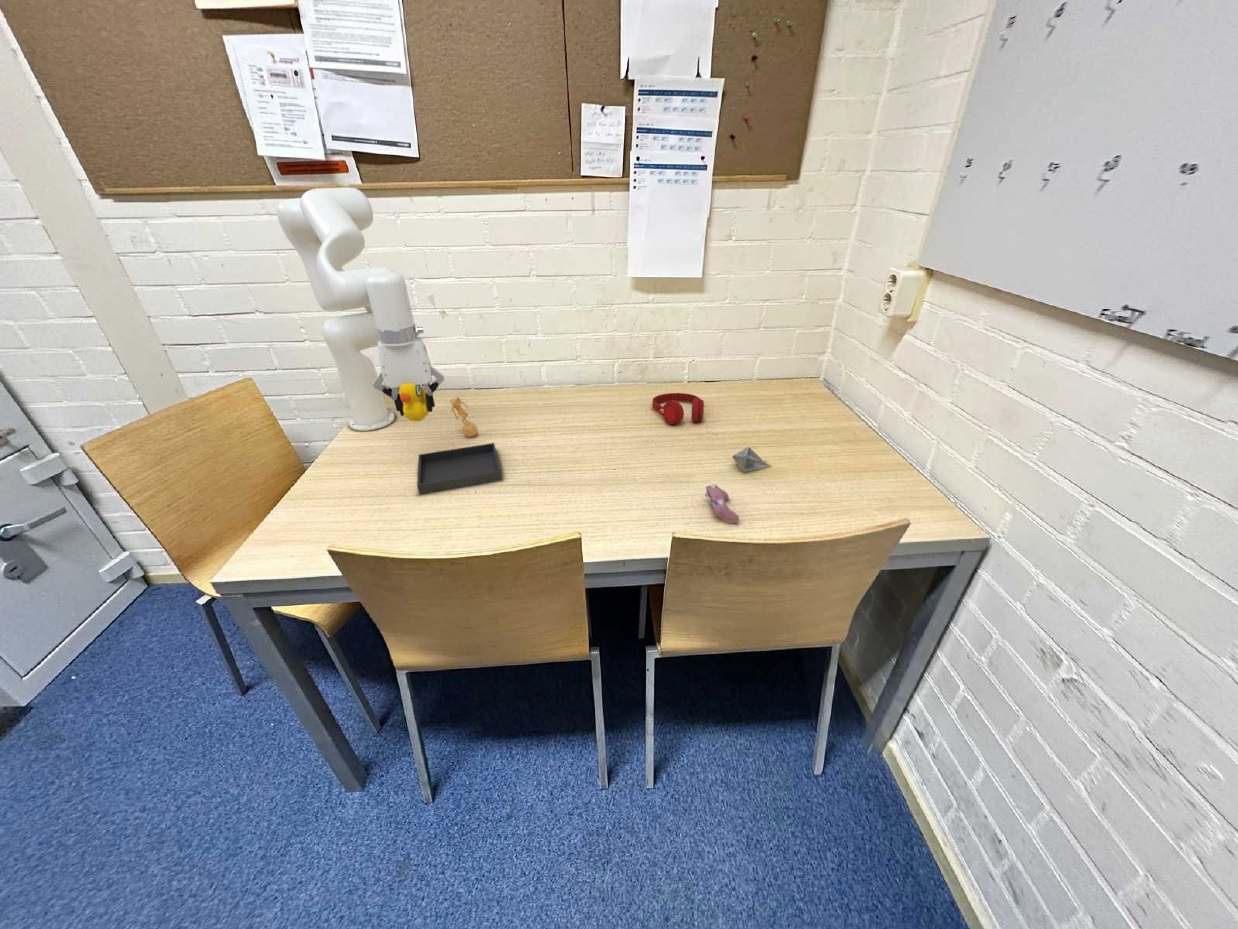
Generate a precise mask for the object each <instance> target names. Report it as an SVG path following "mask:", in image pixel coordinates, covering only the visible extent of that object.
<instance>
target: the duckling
mask: <svg viewBox="0 0 1238 929" xmlns="http://www.w3.org/2000/svg"><path fill="white" fill-rule="evenodd" d="M398 393H399V395H400V398H401V401H402V402H403V404H404V405H403V412H404V415H403V416H405V418H406V419H408V420H409V421H411V422H420V421H422V420H424V419H425V418H426V416H428V415H429V413H430V412H429V410H428V406H427V401H426V392H425V390H424V388H423V387H422V386H421V385H415V384H413V383H406V384H403V385H401V386H400V387H399V390H398Z"/></svg>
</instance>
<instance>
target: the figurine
mask: <svg viewBox="0 0 1238 929" xmlns="http://www.w3.org/2000/svg"><path fill="white" fill-rule="evenodd" d="M449 403H450V405H451V408H450V409H451V411H452V413H453V415H454V417H455V420H460V417H461V421H462V423H463V424H464V425H463V427H462V432H463V434H464V435H465V436H466V437H470V438H473V437H474V436H476V435H477V433H478V427H477V425H476V424H475V423H473V422H471V421H469V420H467V417H468V415H469V413H468V412H467V411H466V410H464V408H462V405H463V406H465V407H466V408H469V406H468V405H467V404H466V403H465V402H463V401H462V400H461V398H460V397H459V396H457V397H456V398H452V399H450V402H449ZM454 409H455V410H456V411H457V412H456V411H455V410H454ZM457 414H458V416H457ZM459 416H460V417H459Z"/></svg>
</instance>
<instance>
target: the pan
mask: <svg viewBox="0 0 1238 929" xmlns="http://www.w3.org/2000/svg"><path fill="white" fill-rule="evenodd" d="M417 459H418V461H417V462H418V463H417V483H416V486H417V489H418V494H419V495H420V496H421V495H428V494H433V493H438V492H443V491H450V490H456V489H461V488H467V487H472V486H478V485H484V484H490V483H494V482H500V481H501V482H502V481H503V476H502V471H501V467H500V462H499V458H498V453H497V448H496V445H495V442H490V443H484V444H478V445H470V446H465V447H459V448H451V449H445V450H439V451H433V452H426V453H421V454H418V458H417Z"/></svg>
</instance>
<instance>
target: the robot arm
mask: <svg viewBox="0 0 1238 929" xmlns="http://www.w3.org/2000/svg"><path fill="white" fill-rule="evenodd" d="M275 210H276V217H277V221H278V223H279V225H280V228H281V230H282V232H283V233H284V234H283V235H285V237H286V239H287V240H288V241H289V243H290V244H291V246H292V248H294V250H295V252H297V255H298V256H299V257H300V260H301V261H302V264H303V267H304V270H305V272H306V275H307V278H308V281H309V283H310V287H311V289H312V292H313V294H314V297H315V299H316V302H317V303H318V305H319V307H320V308H321V309H322V310H323V311H325V312H331V313H333V312H334V313H335V312H342V311H349V310H356V309H362V308H364V309H365V310H366V311H365V312H359V313H351V314H345V315H340V316H336V317H332V318H330V319H327V320H325V322H323V324H322V326H321V335H322V337H323V339H324V342H325V344H326V346H327V348H328V350H329V351H330V354H331V356H332V359H333V360H334V363H335V366H336V369H337V373H338V375H339V378H340V381H341V384H342V387H343V388H342V389H343V391H344V394H345V397H346V400H347V403H348V406H349V410H350V412H351V415H352V418H350V419H349V421H348V426H349V428H351V429H352V430H354V431H358V432H359V431H361V432H365V431H367V432H368V431H373V430H378V429H382V428H384V427H386V426H388V425H390V424H392V423H393V422H394V420H395V414H394V413H393V411H390V410H388V409H387V404H386V402H385V398H384V395H386V396H387V397H389V398H391V400H392V401H393V402H394V407H395V409H396V412H399V414H400V417H403V416H405V415H404V412H403V405H404V402H402V401H401V398H400V395H399V387H400V386H401V385H403V384H406V383H413V384H415V385H420V386H421V387H422V388H423V389H424V390H425V392H426V401H427V406H428V410H429V413H432V412H433V408H435V407H436V404H435V399H434V395H433V394H434V393H435V391H436V390H437V389H438V387H439V386H440V385H441V384H442V383H443V382H444V381H445V375H444V374H443V373H442V372H440V371H438V370H437V369H436V368H435V367H433V366H432V364H431V360H430V357H429V353H428V350H427V347H426V345H425V341H424V340H423V338H422V336H419V335H421V334H424V333H425V332H424V327H423V326H418V325H416V323H415V319H414V316H413V311H412V306H411V302H410V298H409V292H408V288H407V284H406V279H405V278H404V276H403V275H402V274H401V273H399V272H396V271H395V270H394V269H393V268H392V267H389V266H373V267H363V268H355V269H347V270H344V269H343V266H345V265H347V264H349V263H350V262H352V261H353V260H355V259H356V258H357V257H359V256H360V255H361V254H362V252H363V250H364V248H365V244H366V240H365V237H364V234H363V232H362V231H364V230H367V229H368V228H370V227H371V225H373V222H374V210H373V208H372V205H371V202H370V200H369V199H368V197H367V196H366V195H365V193H364V192H362V191H361V190H360V189H358V188H356V187H320V188H319V187H318V188H312V189H309V190H306V191H305V192H304V193H303V194H302V195H301V197H296V198H289V199H285V200H283V201H280V202H279V203H278V204H277V205H276V208H275ZM375 347H377V352H378V361H379V366H380V371H381V372H380V373H379V375H378V372H377V369H376V365H375V364H374V362H373V361H372V360H371V359H370V357H368V356H366V355H365V354H363V353H362V352H361V351H363V350H366V349H370V348H375ZM433 377H434V378H435V380H433Z"/></svg>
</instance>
